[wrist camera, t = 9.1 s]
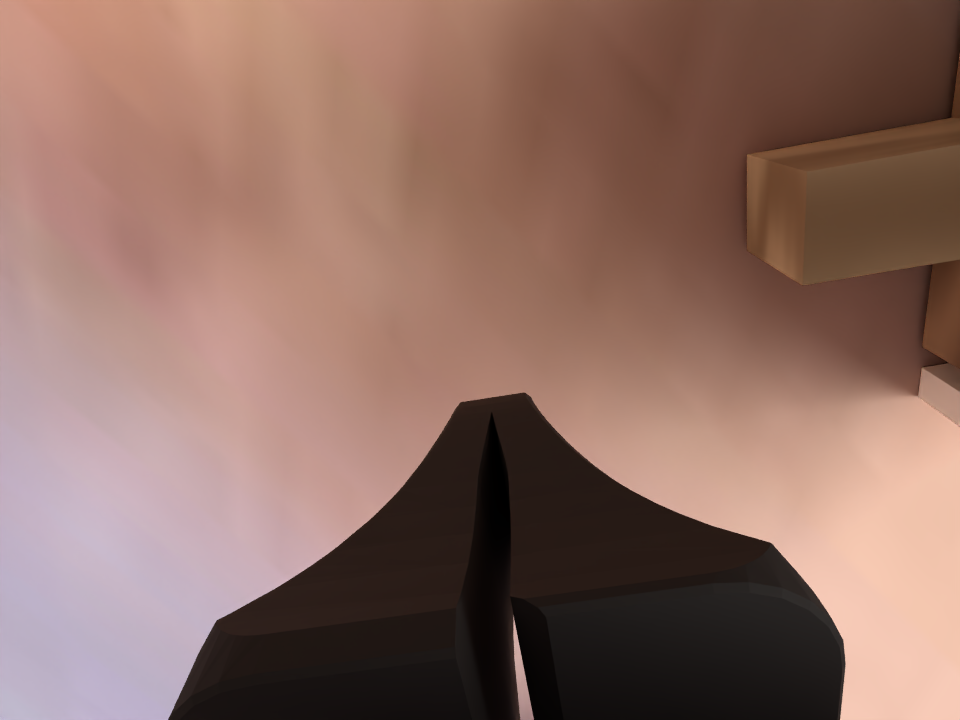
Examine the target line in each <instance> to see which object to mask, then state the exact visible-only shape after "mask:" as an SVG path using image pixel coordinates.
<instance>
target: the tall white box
mask: <svg viewBox="0 0 960 720" xmlns="http://www.w3.org/2000/svg"><path fill="white" fill-rule="evenodd" d="M918 397H919V398H920V399H922V400H923V401H924V402H926V403H927V404H929V405H930V406H931V407H933V408H934V409H936V410H937V411H938V412H940V413H941V414H943V415H944V416H945V417H947V418H948V419H950V420H951V421H952V422H954V423H955V424H957V425H958V426H959V427H960V369H958V368H957V367H955V366H953V365H952V364H950V363H947V364H941V365H935V366H928V367H922V370H921V378H920V386H919V394H918Z"/></svg>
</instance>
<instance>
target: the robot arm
mask: <svg viewBox="0 0 960 720" xmlns="http://www.w3.org/2000/svg"><path fill="white" fill-rule="evenodd" d="M513 615H514V620H515V625H516V630H517V635H518V640H519V645H520V650H521V655H522V660H523V665H524V671H525V676H526V681H527V686H528V691H529V696H530V701H531V706H532V711H533V716H534V720H840V714H841V704H842V694H843V684H844V674H845V654H844V643H843V639H842V637H841V635H840V633H839V631H838V630H837V628H836V626H835V624H834V622H833V620H832V618H831V617H830V615H829V614H828V612H827V611H826V609H825V608H824V606H823V605H822V603H821V602H820V600H819V599H818V597H817V596H816V595H815V593H814V592H813V591H812V589H811V588H810V587H809V586H808V585H807V583H806V582H805V581H804V580H803V579H802V577H801V576H800V575H799V574H798V573H797V571H796V570H795V569H794V568H793V567H792V566H791V565H790V564H789V562H788V561H787V560H786V559H785V558H784V557H783V556H782V555H781V553H780V552H779V551H778V550H777V549H776V548H775V547H774V545H773V544H771V543H769V542H766V541H762V540H759V539H755V538H752V537H748V536H745V535H741V534H738V533H734V532H731V531H728V530H724V529H721V528H717V527H714V526H711V525H708V524H705V523H702V522H700V521H697V520H695V519H692V518H689V517H687V516H684V515H682V514H679V513H677V512H674V511H672V510H670V509H668V508H665V507H663V506H661V505H659V504H656V503H654V502H653V501H651V500H649V499H647V498H645V497H643V496H641V495H639V494H637V493H635V492H633V491H631V490H630V489H628V488H626V487H624V486H623V485H621V484H619V483H618V482H616V481H615V480H613V479H612V478H610V477H609V476H607V475H606V474H605V473H603V472H602V471H601V470H599V469H598V468H597V467H595V466H594V465H593V464H592V463H590V462H589V461H588V460H587V459H586V458H584V457H583V456H582V455H581V454H580V453H579V452H577V451H576V450H575V449H574V448H573V447H572V446H571V445H570V444H569V443H568V442H567V441H566V440H565V439H564V438H563V437H562V436H561V435H560V434H559V433H558V432H557V431H556V430H555V429H554V428H553V427H552V426H551V424H550V423H549V422H548V421H547V420H546V419H545V417H544V416H543V415H542V414H541V412H540V411H539V410H538V408H537V407H536V405H535V404H534V402H533V401H532V398H531V397H530V396H529V395H527V394H526V393H518V394H512V395H505V396H499V397H492V398H486V399H480V400H473V401H467V402H461V403H460V404H459V405H458V407H457V408H456V409H455V411H454V413H453V414H452V416H451V418H450V420H449V421H448V423H447V425H446V426H445V428H444V430H443V431H442V433H441V434H440V436H439V438H438V439H437V441H436V442H435V444H434V445H433V447H432V448H431V450H430V451H429V453H428V454H427V455H426V457H425V458H424V460H423V461H422V463H421V464H420V465H419V466H418V468H417V469H416V470H415V472H414V473H413V474H412V475H411V477H410V478H409V479H408V480H407V482H406V483H405V484H404V486H403V487H402V488H401V489H400V490H399V491H398V492H397V493H396V495H395V496H394V497H393V498H392V499H391V500H390V501H389V502H388V503H387V504H386V505H385V506H384V507H383V508H382V509H381V510H380V511H379V512H378V513H377V514H376V515H375V516H374V517H372V518H371V519H370V520H369V521H368V522H367V523H366V524H364V525H363V526H362V527H361V528H360V529H358V530H357V531H356V532H355V533H354V534H352V535H351V536H350V537H349V538H347V539H346V540H345V541H344V542H343V543H341V544H340V545H339V546H338V547H337V548H335V549H334V550H333V551H331V552H330V553H329V554H327V555H326V556H324V557H323V558H322V559H320V560H319V561H317V562H316V563H315V564H313V565H312V566H310V567H309V568H307V569H306V570H304V571H303V572H301V573H300V574H298V575H296V576H295V577H293V578H292V579H290V580H289V581H287V582H285V583H284V584H282V585H281V586H279V587H277V588H276V589H274V590H272V591H270V592H268V593H267V594H265V595H263V596H261V597H259V598H258V599H256V600H254V601H252V602H250V603H249V604H247V605H245V606H243V607H241V608H240V609H238V610H236V611H234V612H232V613H230V614H229V615H227V616H225V617H223V618H221V619H219V620H217V621H216V623H215V624H214V626H213V628H212V630H211V632H210V634H209V635H208V637H207V639H206V641H205V643H204V645H203V646H202V648H201V650H200V652H199V654H198V656H197V658H196V661H195V663H194V665H193V667H192V669H191V672H190V674H189V676H188V678H187V680H186V683H185V685H184V687H183V689H182V691H181V693H180V695H179V698H178V700H177V702H176V704H175V706H174V708H173V711H172V713H171V715H170V717H169V719H168V720H520V714H519V704H518V693H517V683H516V672H515V662H514V640H513Z"/></svg>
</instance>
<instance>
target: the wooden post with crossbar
mask: <svg viewBox="0 0 960 720" xmlns="http://www.w3.org/2000/svg"><path fill="white" fill-rule="evenodd" d="M747 251H748V252H750V253H751V254H753V255H754V256H756V257H758V258H759V259H761V260H762V261H764V262H766V263H767V264H769V265H770V266H772V267H773V268H775V269H777V270H778V271H780V272H781V273H783V274H785V275H786V276H788V277H789V278H791V279H793V280H794V281H796V282H797V283H799V284H800V285H802V286H804V285H810V284H816V283H822V282H828V281H834V280H840V279H846V278H852V277H858V276H864V275H870V274H876V273H882V272H888V271H894V270H900V269H906V268H912V267H918V266H924V265H930V264H933V266H932V273H931V281H930V289H929V297H928V305H927V313H926V320H925V328H924V336H923V344H922V347H923V348H925V349H927V350H928V351H930V352H932V353H933V354H935V355H937V356H938V357H940V358H942V359H943V360H945V361H947V362H948V363H950V364H952V365H953V366H955V367H957V368H958V369H960V54H959V62H958V70H957V78H956V86H955V93H954V101H953V109H952V117H951V118H947V119H942V120H936V121H930V122H925V123H919V124H914V125H908V126H903V127H897V128H892V129H886V130H880V131H875V132H869V133H864V134H858V135H853V136H847V137H842V138H836V139H830V140H825V141H819V142H814V143H808V144H803V145H797V146H792V147H786V148H781V149H775V150H769V151H764V152H758V153H753V154H747Z"/></svg>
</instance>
